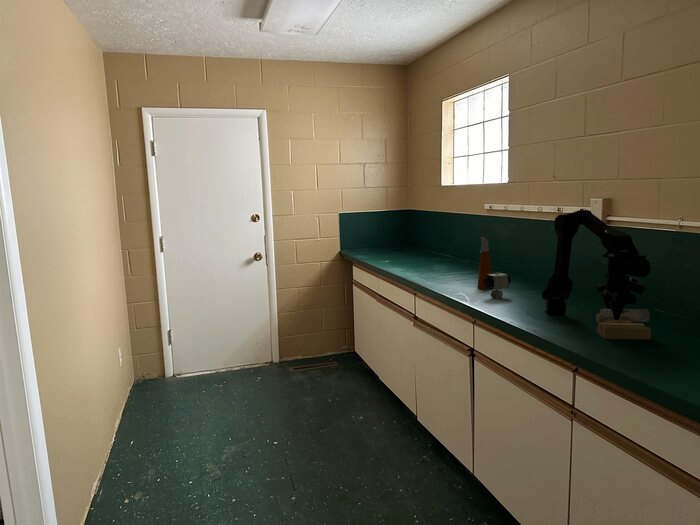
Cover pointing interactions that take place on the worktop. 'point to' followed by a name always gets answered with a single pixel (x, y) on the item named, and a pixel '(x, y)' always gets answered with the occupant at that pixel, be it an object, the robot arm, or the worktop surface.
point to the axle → (626, 315)
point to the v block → (623, 331)
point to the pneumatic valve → (497, 283)
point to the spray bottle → (484, 263)
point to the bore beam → (609, 321)
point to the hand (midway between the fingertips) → (614, 318)
